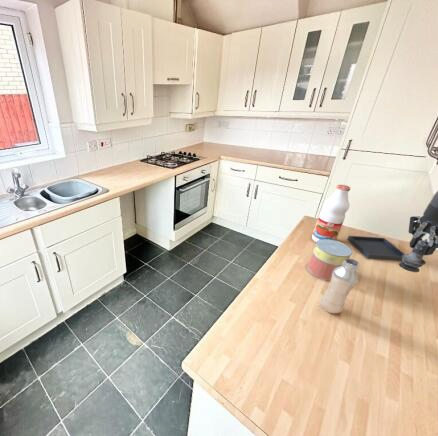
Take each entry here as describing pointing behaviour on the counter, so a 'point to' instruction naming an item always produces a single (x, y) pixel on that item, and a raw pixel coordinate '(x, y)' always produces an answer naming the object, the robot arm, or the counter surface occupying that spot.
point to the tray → (376, 248)
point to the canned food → (328, 258)
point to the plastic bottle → (340, 286)
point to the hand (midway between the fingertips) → (419, 250)
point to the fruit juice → (332, 215)
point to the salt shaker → (414, 257)
